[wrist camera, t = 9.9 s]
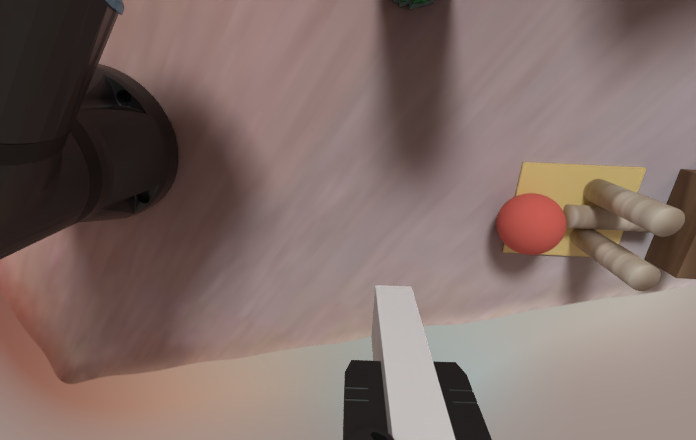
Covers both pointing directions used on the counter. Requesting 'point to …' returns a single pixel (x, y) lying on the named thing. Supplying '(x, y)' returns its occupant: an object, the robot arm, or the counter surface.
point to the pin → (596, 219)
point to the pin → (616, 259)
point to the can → (413, 3)
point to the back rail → (679, 232)
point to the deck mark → (573, 191)
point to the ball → (531, 224)
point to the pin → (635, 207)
